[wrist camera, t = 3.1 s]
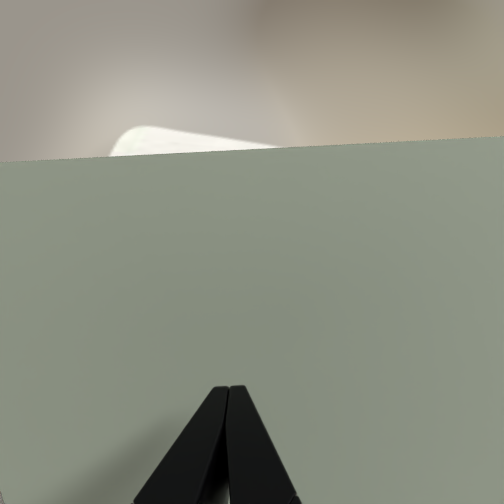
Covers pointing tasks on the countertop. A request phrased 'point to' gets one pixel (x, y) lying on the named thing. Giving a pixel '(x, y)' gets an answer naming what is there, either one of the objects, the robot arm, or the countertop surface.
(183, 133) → the countertop surface
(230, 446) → the robot arm
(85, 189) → the lid
